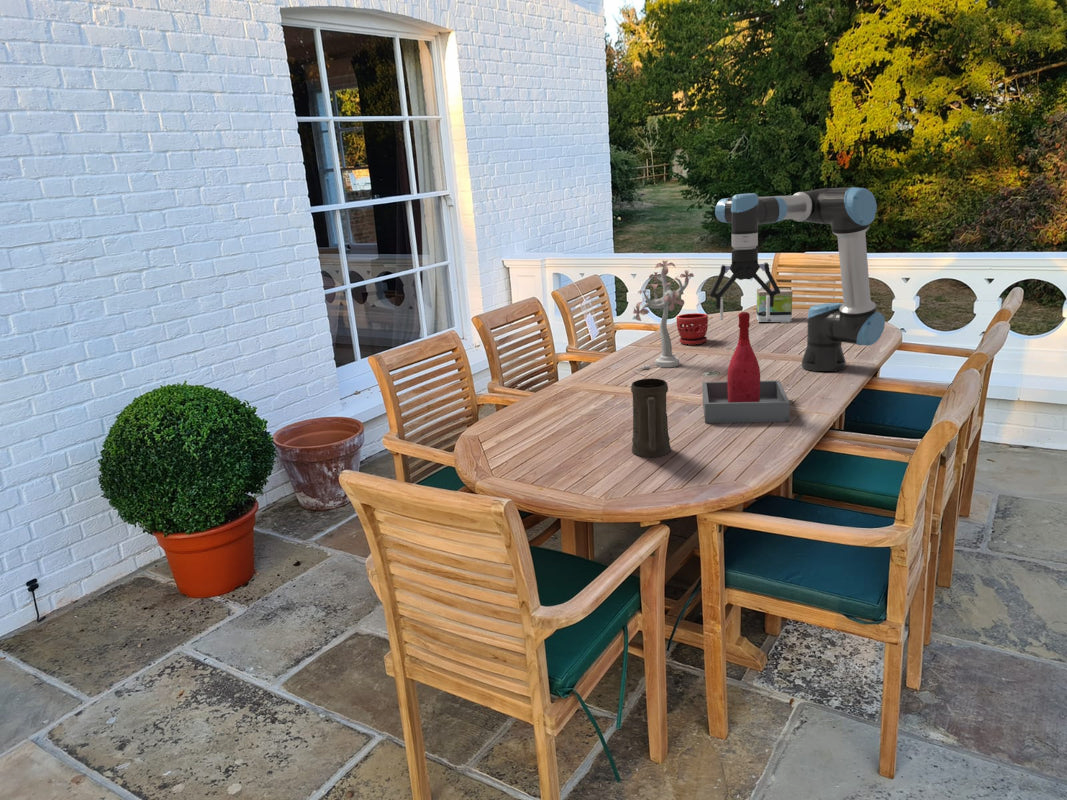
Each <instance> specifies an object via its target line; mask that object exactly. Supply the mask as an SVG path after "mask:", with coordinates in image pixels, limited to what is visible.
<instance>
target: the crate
mask: <svg viewBox="0 0 1067 800" xmlns="http://www.w3.org/2000/svg"><path fill="white" fill-rule="evenodd" d="M790 404H791V402H790V400H789V397H788V396H787V393H786V392H785V388H784V386H783V384H782V382H781V380H779V379H778V380H777V379H776V380H775V379H774V380H773V379H771V380H760V402H728V385H727V381H726V380H725V381H702V405H703V414H704V423H705V424H721V423H722V424H723V423H724V424H725V423H726V424H727V423H729V424H731V423H732V424H733V423H734V424H736V423H739V424H740V423H789V422H790V418H791V417H790V413H791V411H790V410H791V409H790V408H791V405H790ZM786 421H787V422H786ZM788 421H789V422H788Z"/></svg>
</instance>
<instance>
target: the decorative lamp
mask: <svg viewBox="0 0 1067 800" xmlns="http://www.w3.org/2000/svg"><path fill="white" fill-rule="evenodd" d="M668 261H669V260H668V259H667V260H661V262H657V263H656V264H655V267H654V269H658V268H659V267H660V268H661V271H660V273H659V274H658V271H656V272H655V271H653V273H654V274H653V273H652V274H650V275H649V276H648V277H649V278H648V280H650V279H652V278H653V280H654V282H655V283H656V284H654V283H648V284H647V285H645V287H644V290H639V291H637V293H638V294H640V295H642V294H643V296H644V297H643V298H642V301H640V302H637V303H636V304H635V307H633V311H632V314H636V315H635V319H636V321H638V322H642V319H641V316H640V315H642V316H644V315H645V316H646V315H647V314H649V313H650V311H649V310H648V309H647V308H649V309H655V310H661V309H662V310H663V311H662V312H663V313H662V317H661V321H660V324H659V331H660V333H659V335H660V340H661V341H660V342H661V343H660V344H661V355H659V357H657V358H656V359H655V361H654V364H651V365H648V364H645V365H642V366H641V367H639V368H635V369H632V371H633V372H635V373H638V374H641V375H643V376H645V377H647V374H643V373H641V372H639V370H646V369H650V368H651V367H655V366H656V367H658V368H673V367H674V368H675V367H678V366H679V365H680V358H678V357H676V356H675V355H674V354H673V348H672V347H673V346H672V339H671V337H670V333H669V330H668V328H667V326H668V325H667V322H668V318H669V317H668V315H669V311H671V312H672V311H674V310H675V308H676V306H675V305H676V304H678V305H680V306H684V305H685V300H684V299H682V298H680V299H678V298H679V296H680V295H681V294H683V292H684V291H685V289H686V288H687V287H688V285H689V283H690V282H689V281H690V277H692V278H693V277H695V275H694V273H689V272H690V271H689V269H688V270H686V269H685V270H684V273H685V274H684V273H681V274H679V276H678V275H677V276H676V277H674V278H673V279H672V282H671V281H669V282H668V279H667V275H668V273H669V268H668V267H671V266H672V267H674V268H676V265H675V263H673V262H669V263H668ZM680 278H684V282H683V283H682V281H681V279H680ZM659 281H660V282H659ZM674 281H677V282H678V284H679V286H678V289H677V290H674V291H673V290H671V287H670V286H671V285H672V283H674ZM657 282H659V283H657ZM659 285H660V286H662V292H663V294H662V297H660V298H659V295H658V293H657V288H658V286H659ZM649 286H651V287H652V288H653V295H654V298H653V299H650V296H649V294H648V293H649V291H648V290H647V288H648V287H649ZM646 293H647V294H646ZM644 300H646V302H645V303H644V304H643V305H642V302H644ZM669 303H670V304H669ZM641 305H642V307H641ZM640 308H641V309H640Z"/></svg>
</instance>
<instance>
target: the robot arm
mask: <svg viewBox="0 0 1067 800" xmlns="http://www.w3.org/2000/svg"><path fill="white" fill-rule="evenodd" d="M714 208H715V209H714V210H715V213H714V215H715V217H716V219H717V220H718V221H719V222H720V223H726V224H731V247H732V249H731V264H730V265H725V264H721V266H720V273H719V274H718V276H717V278H716V280H715V282H714V284H713V286H712V289H711V290H710V293H709V294H710V295H709V296H710V297H711V298H715V300H716V301H715V303H716V305H715V306H716V309H717V310H719V318H720V319H719V320H720V321H724V298H723V297H722V296H723V295H724V294H725V293H726V292H727V291H728V289H729V288H730V287H731V285H733V283H735V281H736V280H740V281H742V280H751V279H754V280H755V281H756V282H757V283H758V284H759V285H760V286H761V287H762V289H765V291H766V292H767V293H768V294H769V295H766V317H767V318H770V307H773V305H774V295H776V294H779V293H780V290H779V287H778V286H779V285H777V283H776V281H775V278H774V276H773V275H772V273H771V270H770V265H769V263H768V262H766V261H765V262H764V263H759V257H758V256H759V249H758V248H757V247H758V246H759V239H758V237H759V226H761V225H766V224H767V225H769V224H776V223H779V222H781V221H783V220H784V221H785V220H793V221H795V222H799V223H800V222H804V223H805V222H807V223H813V224H821V225H823V224H824V225H831V232H832V234H833V235H834V236H836V237H837V247H838V257H839V268H840V281H841V290H842V291H841V292H842V301H843V303H842V302H829V303H820V304H816V305H812V306H810V307H809V309H808V313H807V314H808V315H807V333H806V334H807V337H806V339H807V340H806V341H807V343H806V345H807V346H806V349H805V350H804V354H803V356H802V359H801V368H802V367H803V368H804V369H803V368H802V369H803V370H806V369H807V370H806V371H810V370H812V371H811V372H816V371H834V372H837V371H836V370H840V371H842V370H841V369H843V368H845V367H846V365H847V361H846V357H845V355H844V352H843V348H842V343H845V344H853V345H857V346H867V347H868V346H870V347H871V346H873V345H875V344H876V343H877V342H878V341H879V340H880V338H881V337H882V334H883V332H884V330H885V325H886V320H885V315H883V313H881V312H880V311H878V312H877V305H876V303H875V302H874V301H872V299H871V289H870V276H869V263H868V252H867V251H868V250H867V240H866V239H867V238H866V232H868V230H869V229H870V228H871V227H870V226H871V223H873V221H874V220H875V218H876V214H877V209H878V207H877V202H876V198H875V195H874V194H873V192H871V191H870V190H869V189H868V188H866V187H865V188H864V187H857V186H853V187H851V186H850V187H826V188H825V187H824V188H818V189H817V188H816V189H813V190H807V191H798V192H795V193H794V194H793V195H775V196H774V195H773V196H759V195H758V194H757V193H754V192H753V193H752V192H751V193H749V192H748V193H739V194H735V195H733V196H732V197H727V198H721V199H719V200H718V202H717V204H716V205H715V207H714ZM760 269H761V270H762V271H763V272H765V274H766V277H767V279H768V280H769V282H770V284H771V286H772V288H770V287H769V286H768V285H767V283H765V281H763V279H762V278H761V277H760V276H759V275H758V274H757V272H758V271H759V270H760ZM729 270H730V271H731V273H732V275H731V276H730V277H729V279H727V281H726V282H725V284H723V286H722V287H721V288H720V289H719V287H720V285H721V283H722V281H723V279H724V277H725V274H727V273H728V271H729ZM718 289H719V291H718ZM771 289H774V290H773V291H771ZM717 291H718V292H717ZM846 368H847V367H846ZM846 368H845V369H846ZM843 370H844V369H843Z"/></svg>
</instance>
